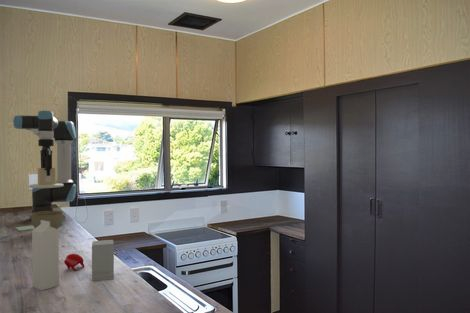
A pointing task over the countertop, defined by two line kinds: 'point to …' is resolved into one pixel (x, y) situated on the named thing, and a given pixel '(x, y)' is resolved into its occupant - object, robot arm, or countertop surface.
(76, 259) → the cap
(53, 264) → the milk
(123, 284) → the countertop surface
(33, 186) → the lid
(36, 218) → the planter bowl
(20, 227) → the mat
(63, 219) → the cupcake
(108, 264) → the supplement box
